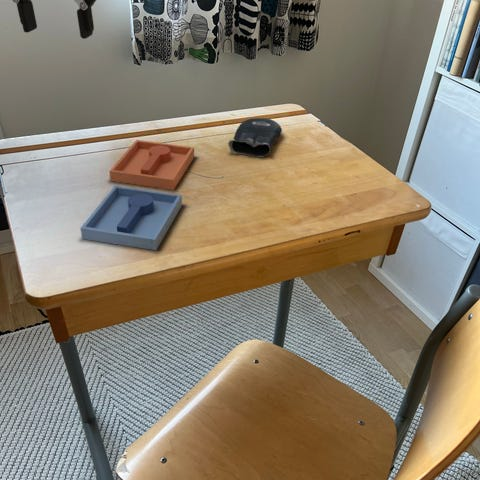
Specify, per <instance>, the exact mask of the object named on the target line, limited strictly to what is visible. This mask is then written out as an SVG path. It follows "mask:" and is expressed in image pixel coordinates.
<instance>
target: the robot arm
mask: <svg viewBox="0 0 480 480" xmlns="http://www.w3.org/2000/svg"><path fill="white" fill-rule="evenodd" d="M73 1H74V2H75V3H76V5H77V6H78V9H77V11H76V17H77V23H78V28H79V35H80V38H81V39H83V40H84V39H88V38H89V37H91V36H93V34H94V30H95V24H94V18H93V10H92V7H93V6H94V5H95V3H96V2H97V0H73ZM12 3H14V4H16V8H17V12H18V17H19V22H20V24H21V25H22V29H23V32H24V33H30V32H32V31H34V30H36V29H37V28H38V24H37V19H36V14H35V8H34V3H33V2H32V0H12Z"/></svg>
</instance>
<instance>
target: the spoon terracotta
mask: <svg viewBox="0 0 480 480" xmlns="http://www.w3.org/2000/svg"><path fill="white" fill-rule="evenodd" d="M170 159H171V155H170V148H168V147H166V146H161V145H159V146H153V147H151V148H149V159H148V160H147V162H146V163H145V164H144V165H143V167H142V168H141V174H146V175H153V173H154V172H155V171H156V169H157V168H158V166H159V165H160V164H161V163H166V162H168V161H170Z"/></svg>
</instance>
